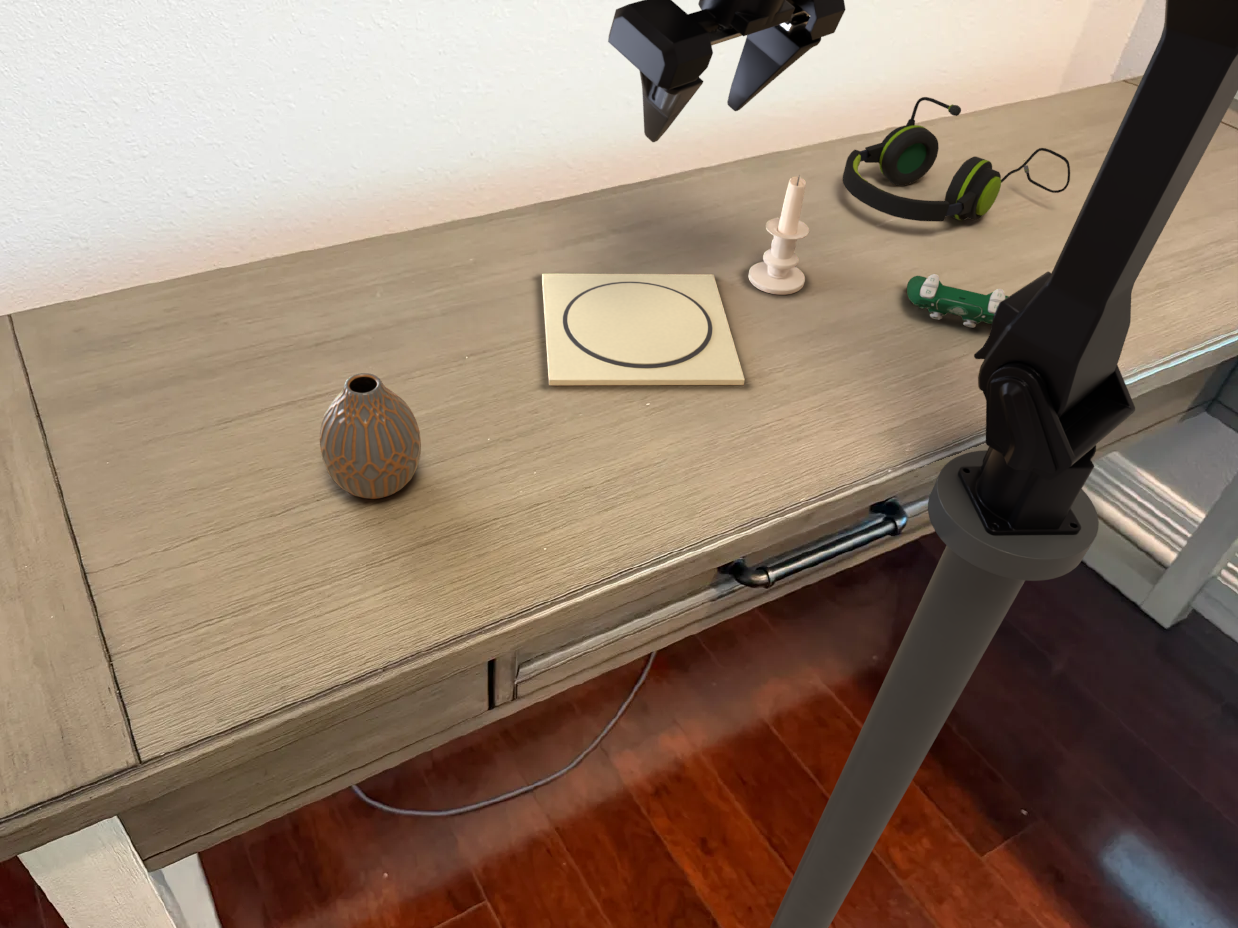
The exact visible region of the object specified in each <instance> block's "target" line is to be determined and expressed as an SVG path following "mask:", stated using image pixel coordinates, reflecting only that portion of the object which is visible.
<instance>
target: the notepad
mask: <svg viewBox="0 0 1238 928" xmlns="http://www.w3.org/2000/svg"><path fill="white" fill-rule="evenodd" d="M541 284H542V299H543V301H542V302H543V313H544V315H543V316H544V330H545V332H544V333H545V343H546V344H545V345H546V360H547V374H548V386H744V385H745V382H746V381H745V380H746V379H745V375H744V372H743V369H742V365H741V362H740V359H739V355H738V352H737V349H736V345H735V341H734V339H733V335H732V332H731V329H730V325H729V321H728V318H727V315H726V311H725V308H724V305H723V301H722V298H721V295H720V291H719V289H718V285H717V281H716V278H715V274H713V273H712V274H711V273H709V274H707V273H704V274H703V273H701V274H699V273H696V274H695V273H669V274H668V273H542V274H541Z"/></svg>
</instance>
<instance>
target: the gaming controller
mask: <svg viewBox="0 0 1238 928" xmlns="http://www.w3.org/2000/svg"><path fill="white" fill-rule="evenodd" d="M906 294H907V298H908V299H909V301H910V302H911V303H912V304H913V305H914V306H917V307H918V309H923V310H924V309H927V311H928V313H929V317H930V318H931V319H933V320H938V321H939V320H941V319H943V317H944V316H946V315H947V314H951V315H954V316H960V317H961V319H962V321H963V325H964V326H965V327H967V328H975V327H976V326H977V325H978V324H980V323H981V322H984V323H985V324H989V325H992V321H993V317H994V314H995V312H996V309H997V307H998V305H999V303H1000V302H1001V301H1003V300H1004V299H1006V298H1008V297H1009V296H1010V295H1006V293H1005V291H1004V289H1002V288H996V289H994V290H993V291H992V292H989V293H988V294H983V293H979V292H975V291H971V290H966V289H961V288H958V287H954V286H949V285H944V284H943V283H942V282H941V280H940V276H939V275H938V274H936V273H932V274H930V275H928V276H927V277H926V276H922V275H914V276H912V277H911V278H910V279H909V280H908V281H907V286H906Z"/></svg>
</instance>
